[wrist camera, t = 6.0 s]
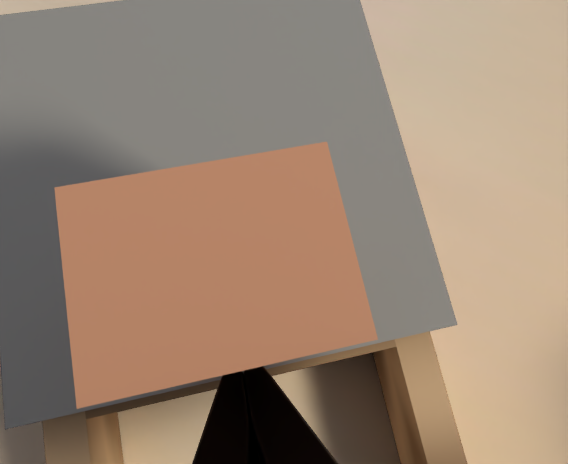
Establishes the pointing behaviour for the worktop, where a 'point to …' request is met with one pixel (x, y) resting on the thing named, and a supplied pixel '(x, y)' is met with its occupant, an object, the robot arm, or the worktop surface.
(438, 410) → the oak box
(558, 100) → the worktop surface
